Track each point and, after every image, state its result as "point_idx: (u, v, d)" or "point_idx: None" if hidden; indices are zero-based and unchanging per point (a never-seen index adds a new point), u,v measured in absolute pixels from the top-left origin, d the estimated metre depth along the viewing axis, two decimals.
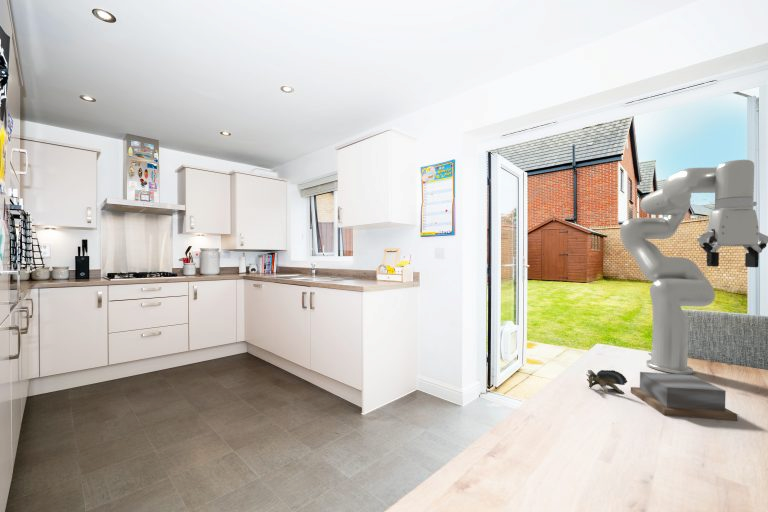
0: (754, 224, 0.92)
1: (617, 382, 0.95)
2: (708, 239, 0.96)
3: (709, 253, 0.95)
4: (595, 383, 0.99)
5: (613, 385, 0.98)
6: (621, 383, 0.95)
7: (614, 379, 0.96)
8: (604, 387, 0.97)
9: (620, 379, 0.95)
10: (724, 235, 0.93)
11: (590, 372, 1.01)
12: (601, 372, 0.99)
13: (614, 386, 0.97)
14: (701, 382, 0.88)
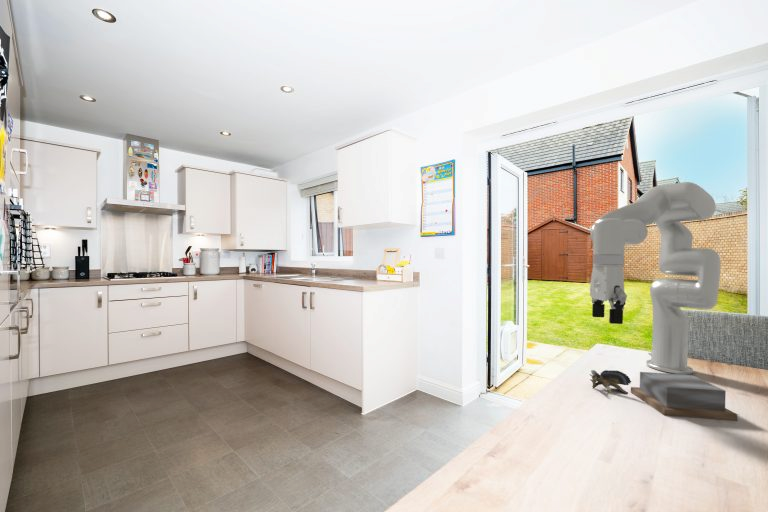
0: None
1: (621, 382, 0.95)
2: (611, 295, 0.93)
3: (618, 310, 0.92)
4: (599, 383, 0.99)
5: (617, 385, 0.98)
6: (625, 383, 0.95)
7: (618, 379, 0.96)
8: (608, 387, 0.97)
9: (624, 379, 0.95)
10: None
11: (593, 372, 1.01)
12: (604, 372, 0.99)
13: (618, 386, 0.97)
14: (701, 382, 0.88)
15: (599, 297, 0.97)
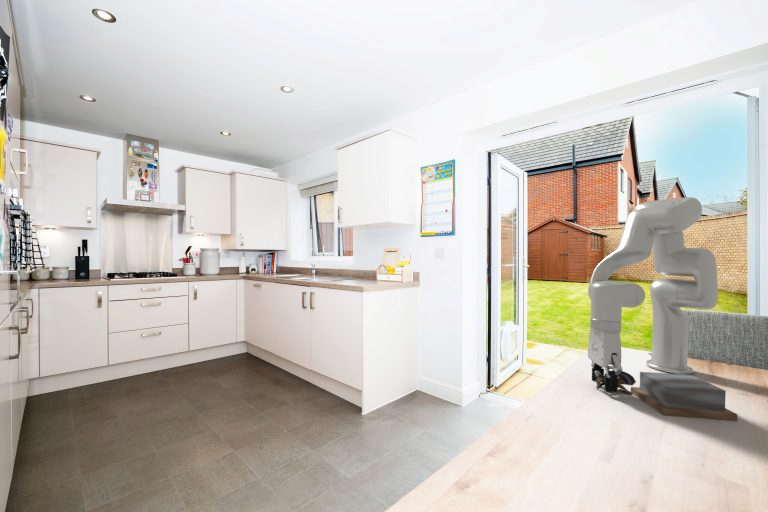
0: None
1: (625, 382, 0.95)
2: (608, 362, 0.93)
3: (613, 380, 0.93)
4: (603, 384, 0.98)
5: (621, 385, 0.97)
6: (630, 383, 0.94)
7: (622, 379, 0.96)
8: None
9: (628, 379, 0.95)
10: None
11: (597, 373, 1.00)
12: None
13: (622, 386, 0.97)
14: (701, 382, 0.88)
15: (596, 362, 0.97)
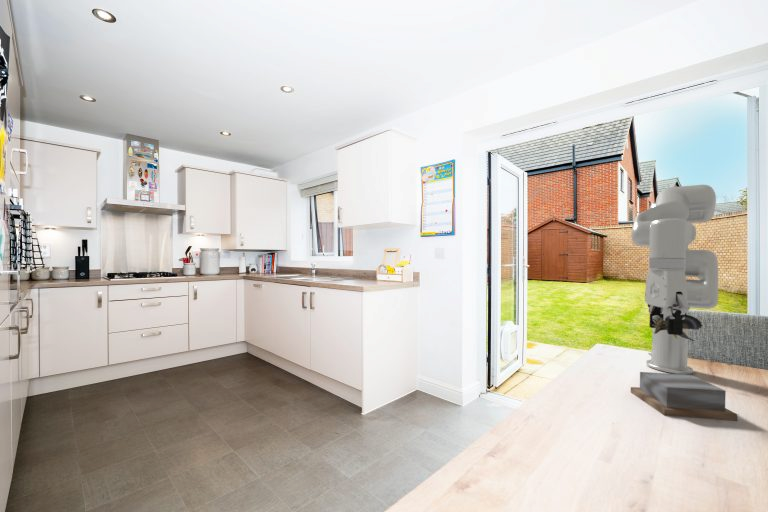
0: None
1: (690, 326, 0.88)
2: (672, 302, 0.86)
3: (678, 321, 0.86)
4: (662, 328, 0.91)
5: None
6: (695, 328, 0.87)
7: (686, 324, 0.88)
8: None
9: (694, 323, 0.87)
10: None
11: (656, 318, 0.93)
12: None
13: (683, 333, 0.89)
14: (701, 382, 0.88)
15: (657, 304, 0.90)
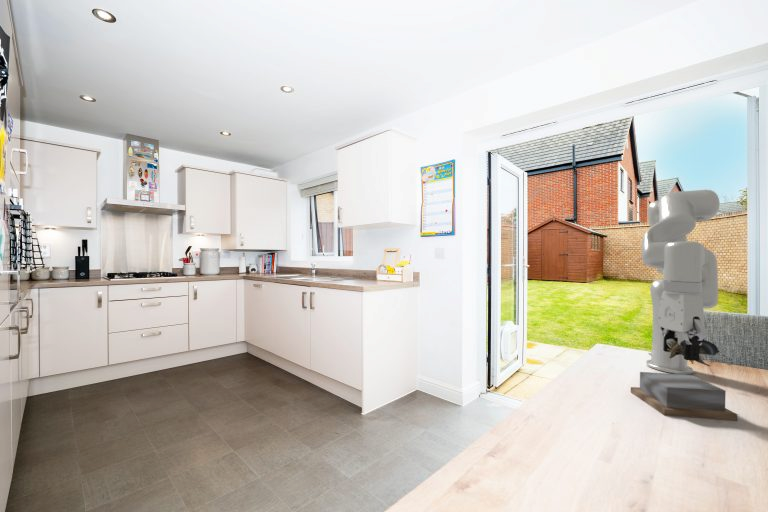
0: None
1: (706, 352, 0.86)
2: (689, 327, 0.84)
3: (695, 346, 0.84)
4: (678, 353, 0.89)
5: None
6: (711, 353, 0.85)
7: (702, 349, 0.86)
8: None
9: (710, 349, 0.85)
10: None
11: (671, 342, 0.91)
12: (685, 341, 0.89)
13: (699, 358, 0.88)
14: (701, 382, 0.88)
15: (673, 328, 0.88)
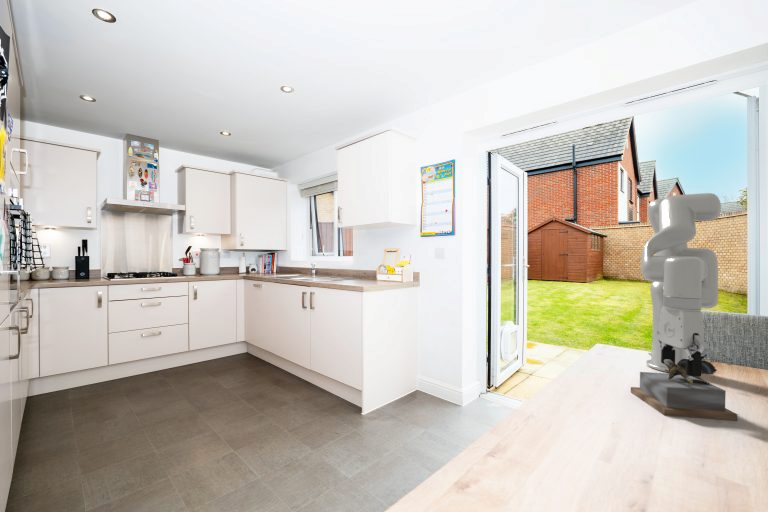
0: None
1: (704, 371, 0.86)
2: (689, 344, 0.84)
3: (697, 362, 0.84)
4: (676, 374, 0.89)
5: None
6: (709, 372, 0.85)
7: None
8: (688, 378, 0.87)
9: (707, 368, 0.85)
10: None
11: (668, 362, 0.91)
12: (682, 361, 0.89)
13: (698, 376, 0.88)
14: (701, 382, 0.88)
15: (673, 344, 0.88)
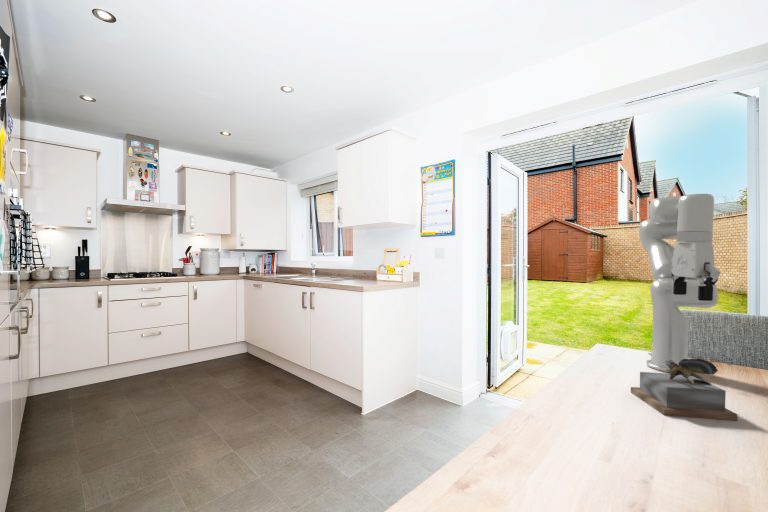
0: None
1: (705, 371, 0.86)
2: (700, 272, 0.92)
3: (709, 287, 0.91)
4: (677, 373, 0.89)
5: (697, 375, 0.88)
6: (710, 372, 0.85)
7: (701, 368, 0.87)
8: (689, 378, 0.87)
9: (709, 368, 0.86)
10: None
11: (669, 362, 0.91)
12: (683, 361, 0.89)
13: (699, 376, 0.88)
14: (701, 382, 0.88)
15: (685, 274, 0.96)
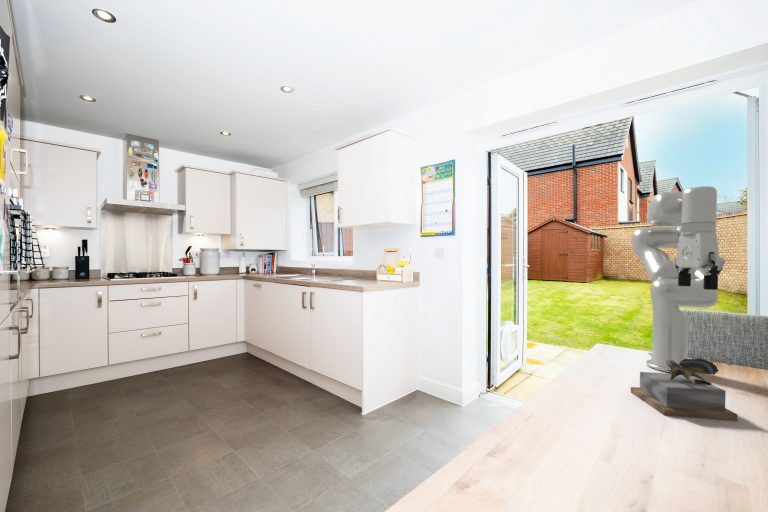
0: None
1: (706, 371, 0.86)
2: (705, 262, 0.94)
3: (714, 276, 0.93)
4: (678, 373, 0.89)
5: (698, 375, 0.88)
6: (711, 372, 0.85)
7: (701, 368, 0.87)
8: (690, 378, 0.87)
9: (709, 368, 0.86)
10: None
11: (670, 362, 0.91)
12: (684, 361, 0.89)
13: (700, 376, 0.88)
14: (701, 382, 0.88)
15: (690, 265, 0.98)
